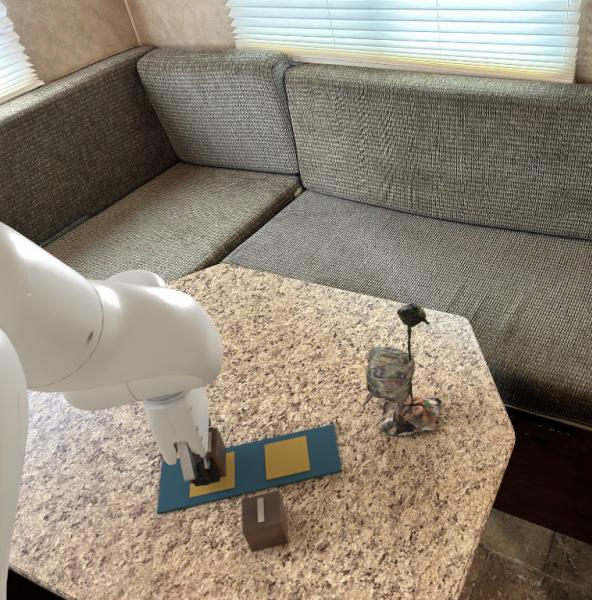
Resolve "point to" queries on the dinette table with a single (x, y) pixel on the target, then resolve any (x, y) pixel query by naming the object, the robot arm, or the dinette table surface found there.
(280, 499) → the tile
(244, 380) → the dinette table surface
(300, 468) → the word mat
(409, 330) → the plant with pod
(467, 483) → the dinette table surface
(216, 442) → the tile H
